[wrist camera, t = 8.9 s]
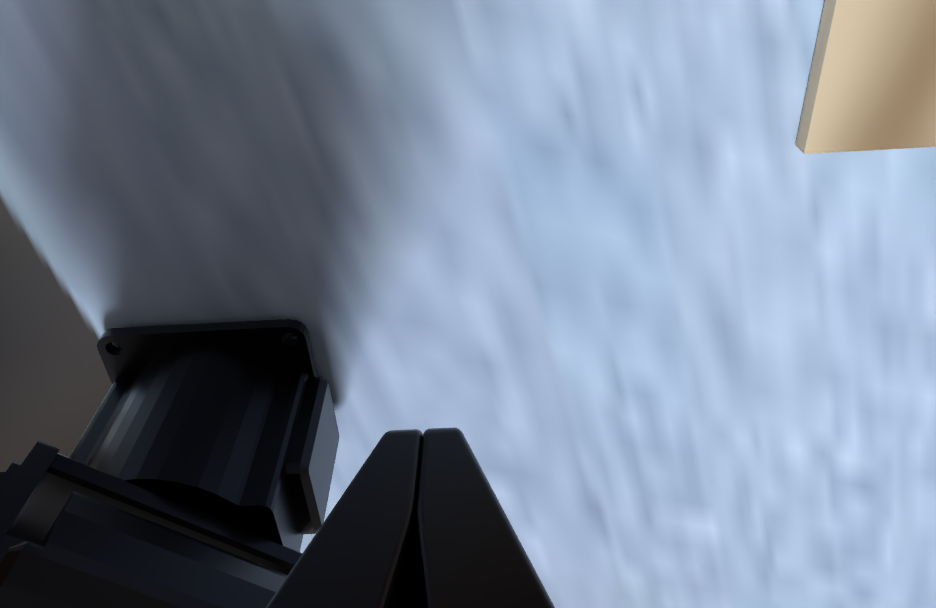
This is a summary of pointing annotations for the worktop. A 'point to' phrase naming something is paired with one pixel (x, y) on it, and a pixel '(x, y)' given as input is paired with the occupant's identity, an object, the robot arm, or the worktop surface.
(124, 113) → the worktop surface
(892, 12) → the serving board
